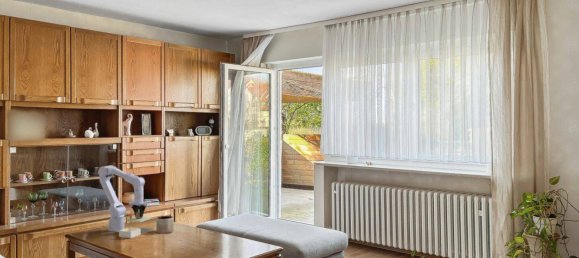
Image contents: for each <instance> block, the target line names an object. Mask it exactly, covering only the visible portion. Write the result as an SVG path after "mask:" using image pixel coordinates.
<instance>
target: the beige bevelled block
mask: <svg viewBox="0 0 579 258" xmlns="http://www.w3.org/2000/svg"><path fill="white" fill-rule="evenodd" d="M140 228H141V227H126V228H125V229H123V230H120V231H119V232H118V237H119V238H122V239H123V238H124V239H133V238H137V237H139V236H140V237H141V234H142V233H141V229H140Z"/></svg>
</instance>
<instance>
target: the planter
mask: <svg viewBox="0 0 579 258" xmlns="http://www.w3.org/2000/svg"><path fill="white" fill-rule="evenodd" d="M155 223H156V224H155V225H156V227H155V228H156V231H155V232H156V233H157V234H164V235H165V234H166V235H167V234H172V232H174V230H175V229H174V216H171V215H161V216H158V217H156V221H155Z"/></svg>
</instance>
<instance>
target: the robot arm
mask: <svg viewBox="0 0 579 258" xmlns="http://www.w3.org/2000/svg"><path fill="white" fill-rule="evenodd" d="M97 174H98V176H99V183H100V184H101V187H102V190H103V191H104V194H105V196H106V198H107V201H108V203H109V205H110V206H109V208H108V209H109V215H110V217H109V219H108V230H107V231H109V232H115V233H116V232H117V233H119V231H120V230H123V229H126V228H125V215H126V214H127V208H126V207H125V205H124V204H123V202H120V201H119V198H118V197H117V195H116V192H115V190H114V188H113V185H112V183H111V182H110V180H111V178H112V177H113V176H114V175H115V176H118V177H121V178H122V179H124V181H125V182H127V183H129V184H131V185H132V187H133V192H134V194H133V197H134V199H133V201H129V202H128V206H131V209H132V210H133V213H134V217H136V213H137V212H139V213H140V217H144V214H145V213H144V212H145V210H146V208H147V207H149V206H150V203H149V202H145V201H144V186H145V183H146V180H145V178H144V177H142V176H140V177H139V176H138V175H135V174H133V172H125V171H123V170H121V169H119V168H118V167H116V166H115V165H110V164H109V165H106V166H105V165H104V166H103V165H102V166H100V167H99V169H98V171H97Z"/></svg>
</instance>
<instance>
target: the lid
mask: <svg viewBox="0 0 579 258" xmlns="http://www.w3.org/2000/svg"><path fill="white" fill-rule="evenodd" d="M152 218H153V217H151V216H143V217H140V213H139V212H137V213H136V217H135V216H134V217H132V218H128V219H126V222H132V223H133V222H135V223H142V222H144V221H147V220H151V219H152Z"/></svg>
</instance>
